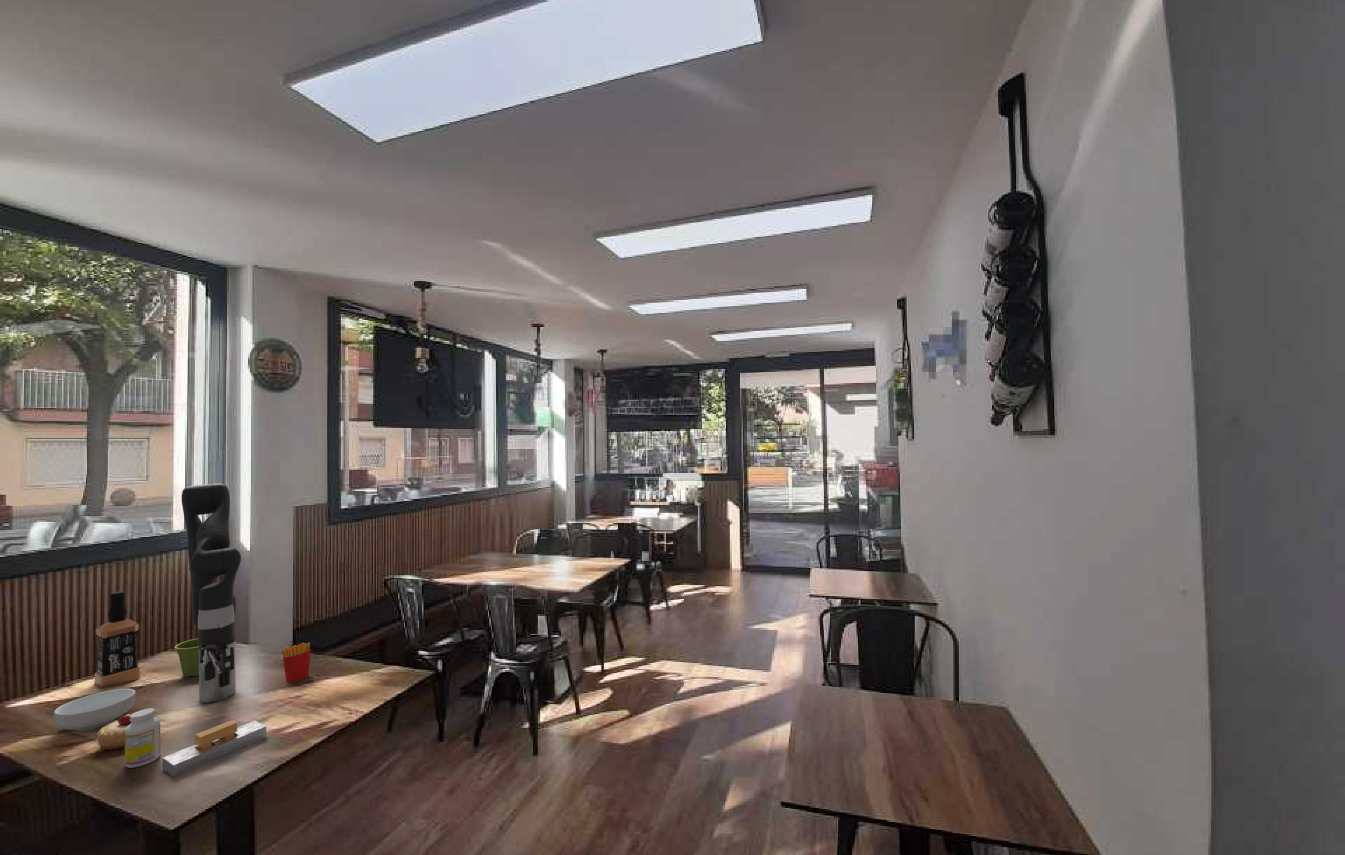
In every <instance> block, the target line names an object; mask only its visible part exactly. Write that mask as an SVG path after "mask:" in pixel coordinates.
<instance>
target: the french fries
mask: <svg viewBox="0 0 1345 855" xmlns="http://www.w3.org/2000/svg"><path fill="white" fill-rule="evenodd" d="M310 645H311V642H307V643H305V642H300V643H299V644H298V645H297V644H295V645H292V646H291V647H289V646H288V647H286V649H282V650H281V653H282V656H283V657H282V661H283V669H284V676H285V682H287V683H293V682H297V681H300V680H302V679H305V678H307V677H308V676H309V673H310V664H311V663H310V662H311V652H312V651H311V649H310V647H311V646H310Z"/></svg>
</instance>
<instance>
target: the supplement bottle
mask: <svg viewBox="0 0 1345 855" xmlns="http://www.w3.org/2000/svg"><path fill="white" fill-rule="evenodd" d="M132 713H133V714H132V715H131V716H130V721H131V724H130V725H129V726H128V727H127V728H126V729H125V747H124V760H125V761H124V762H125V767H126V768H130V769H134V768H139V767H143V766H145V765H147V764H151V763H152V762H154V761H156V760H157V759H159V758H160V755H161V754H162V753H161V751H162V750H161V748H162V746H161V720H160V718H159V717H158V716H156V717H154V715H156V709H155V708H154V707H153V708H150V707H149V708H145V709H141V710H138V711H136V712H132Z"/></svg>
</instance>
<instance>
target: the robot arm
mask: <svg viewBox="0 0 1345 855" xmlns="http://www.w3.org/2000/svg"><path fill="white" fill-rule="evenodd" d="M181 505H182V506H181V507H182V512H183V513H182V514H183V517H184V523H185V528H186V535H187V537H186V538H187V554H188V555H187V557H188V566H189V573H190V574H189V575H190V579H191V580H190V581H191V595H192V596H191V597H192V600H191V601H192V602H191V603H192V604H191V607H192V608H191V609H192V610H191V613H192V620H193V621H192V622H193V625H195V626H196V627H197V639H198V643H199V675H198V702H200V703H212V702H218V701H222V700H223V699H226V698H230V697H231V696H233V695H235V693H236V690H237V689H236V688H237V686H236V685H237V684H236V683H237V682H236V679H237V678H236V612H237V602H236V600H237V599H236V597H235V595H234V584H235V580H236V576H237V573H238V572H239V568H240V565H241V560H242V555H241V552H240V551H239V549H237V548H235V547H230V546H231V541H230V534H229V533H230V532H229V521H230V510H231V509H230V508H231V497H230V490H229V488H228V486H227V485H226V484H224V483H219V482H218V483H217V482H216V483H207V484H198V485H197V484H196V485H191V486H186V487H184V488H183V489H182V491H181ZM210 514H211V515H210ZM202 515H210V516H208V517H207V518H206V519H205V520H204V521H203V522H202V520H201V518H200V516H202ZM222 575H223V577H222V578H221V579H220V580H219V581H216V580H217V579H218V578H219V577H220V576H222Z"/></svg>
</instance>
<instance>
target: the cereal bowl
mask: <svg viewBox="0 0 1345 855" xmlns="http://www.w3.org/2000/svg"><path fill="white" fill-rule="evenodd" d="M135 700H136V690H135V689H133V688H116V689H110V690H106V691H101V692H97V693H93V694H89V695H86V696H83V697H79V698H77V699H74V700H71V701H69V702H66V703H64V704H62V705H60V706H58V707H57V708H56V709H55V710H54V713H53V720H54V723H55V724H56V726H57V727H58V728H60V729H63V730H72V731H73V730H74V731H79V732H85V731H90V730H94V729H95V730H96V729H98V728H102V727H105V726H106V725H107V724H111V723H112V722H113V721H115V720H117V719H119V718H120V717H121V716H123V715H125V714H126V713H127V712H128V711H129V710H130V709H131V708H132V706H133V705H134V704H135ZM126 708H127V709H128V711H127V710H126Z"/></svg>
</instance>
